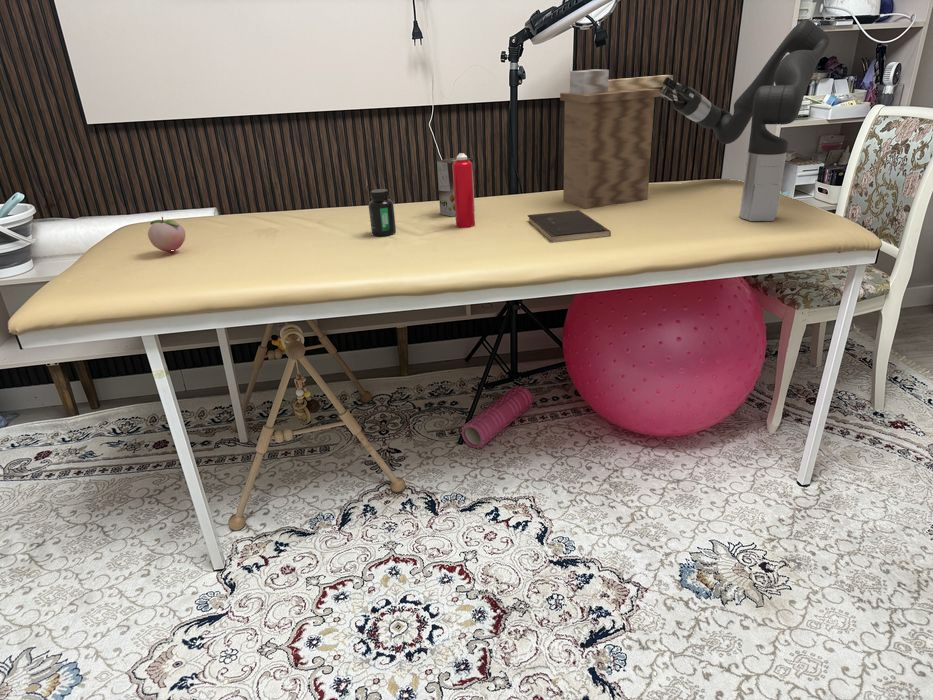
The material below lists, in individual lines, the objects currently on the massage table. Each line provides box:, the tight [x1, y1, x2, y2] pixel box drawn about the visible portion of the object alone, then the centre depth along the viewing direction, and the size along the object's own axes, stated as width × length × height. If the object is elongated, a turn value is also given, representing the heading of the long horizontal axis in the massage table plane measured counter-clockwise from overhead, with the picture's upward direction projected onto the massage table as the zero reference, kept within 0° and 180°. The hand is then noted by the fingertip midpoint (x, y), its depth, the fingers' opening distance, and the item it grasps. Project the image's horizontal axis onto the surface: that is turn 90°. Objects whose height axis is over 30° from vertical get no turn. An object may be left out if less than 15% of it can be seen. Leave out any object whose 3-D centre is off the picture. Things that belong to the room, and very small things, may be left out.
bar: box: [569, 69, 674, 95], centre depth 186 cm, size 32×8×6 cm, turn 111°
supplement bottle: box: [368, 188, 397, 238], centre depth 175 cm, size 7×7×12 cm
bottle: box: [452, 152, 476, 229], centre depth 177 cm, size 5×5×20 cm
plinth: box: [559, 88, 661, 210], centre depth 193 cm, size 24×16×32 cm, turn 111°
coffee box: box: [436, 157, 476, 218], centre depth 192 cm, size 9×6×16 cm
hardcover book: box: [527, 209, 612, 243], centre depth 172 cm, size 16×23×2 cm
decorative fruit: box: [147, 216, 186, 254], centre depth 169 cm, size 9×8×10 cm
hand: (656, 79), depth 190 cm, fingers open, 8 cm apart
